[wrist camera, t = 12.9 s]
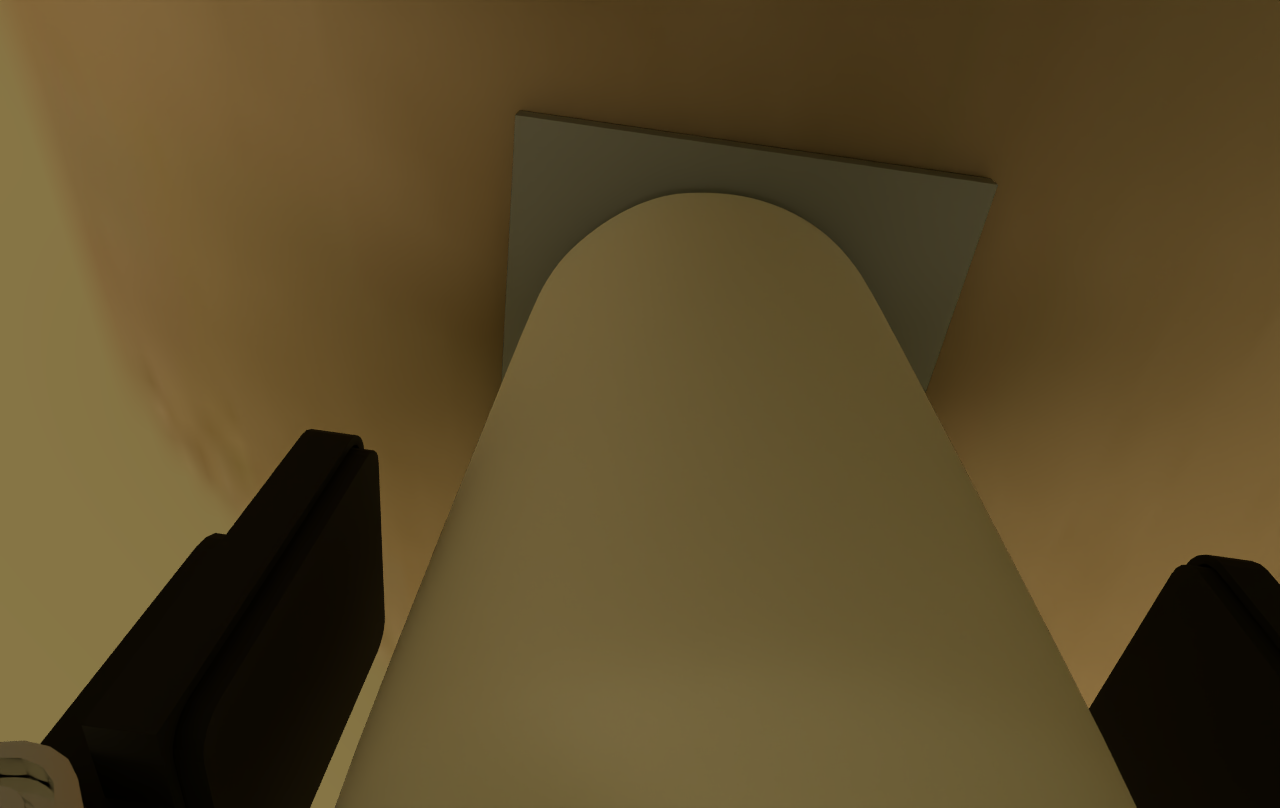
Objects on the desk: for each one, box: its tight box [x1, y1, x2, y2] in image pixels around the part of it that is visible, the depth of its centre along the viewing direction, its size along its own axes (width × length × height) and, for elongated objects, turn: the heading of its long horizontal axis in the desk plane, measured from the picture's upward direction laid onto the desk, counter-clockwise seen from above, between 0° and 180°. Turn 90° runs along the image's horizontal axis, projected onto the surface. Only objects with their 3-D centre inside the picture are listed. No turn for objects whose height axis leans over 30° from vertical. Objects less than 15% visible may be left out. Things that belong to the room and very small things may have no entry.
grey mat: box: [501, 111, 998, 393], centre depth 16 cm, size 8×8×1 cm
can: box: [335, 193, 1137, 808], centre depth 10 cm, size 6×6×12 cm
